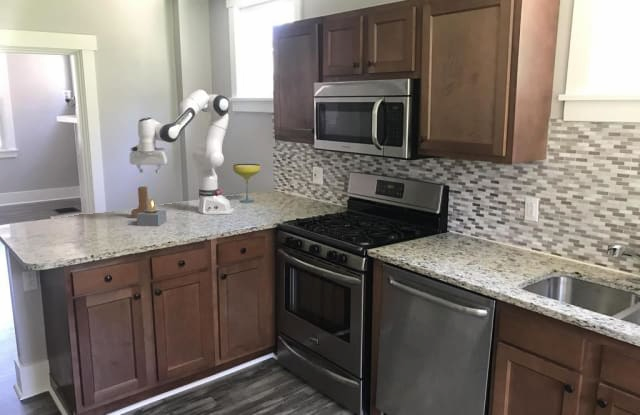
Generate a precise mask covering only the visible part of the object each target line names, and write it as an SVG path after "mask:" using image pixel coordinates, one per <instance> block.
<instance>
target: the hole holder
mask: <svg viewBox="0 0 640 415" xmlns="http://www.w3.org/2000/svg"><path fill="white" fill-rule="evenodd" d="M166 222H167V210H166V209H165V210H164V209H155V213H148V210H144V211H142V212H140V213H138V214H137V218H136V225H137V226H138V227H139V226H141V227H160V226H161V225H163V224H165V223H166Z"/></svg>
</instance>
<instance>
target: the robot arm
mask: <svg viewBox="0 0 640 415" xmlns="http://www.w3.org/2000/svg"><path fill="white" fill-rule="evenodd" d="M229 109H230V102H229V99H228V98H227V97H226V96H225V95H222V94H210V93H209V94H208V93H207V92H206V91H205V90H203V89H196V90H194V91H193V92H191V93H189V94H188V95H187V96H186V97H184V98H183V100H182V101H181V102H180V103H179V105H178V110H179V112H180V114H179V116H178V117H177V118H176V119H175V120H174V121H173V122H170V123H162V122H159V121H157V120H155V119H154V118H153V117H143V118H140V119H139V120H138V123H137V135H138V144H136V145H133V146H132V147H130V148H129V150H130V152H129V164H130V165H132V166H133V165H136V168H137V169H138V173H140V174H142V173H143V172H144V169H143V168H142V167H141V166H142V165H144V166H145V165H147V166H150V165H151V166H152V165H153V166H155V165H156V166H157V169H155V173H156V174H158V173H160V169H161V167H162V166H163V165H167V163H168V158H167V149H166V148H163V147H157V141H158V142H159V141H161V142H165V143H175V142H176V141H177V140H178V139H179V137H180V135H181V133H182V132H183V130H184V129H185V128H186V127H187V126H188V125H189V124H190V123H191V122H192V121H193V119H194V118H195V116H197V115H198V114H199V113H200V112H201V111H202V112H205V113H210V120H209V124H208V126H207V128H206V131H205V132H206V133H205V135H204V139H205V142H206V143H205V144H206V145H205V147H200V148H196V149H195V150H193V152H192V155H191V157H192V161H193V162H194V164H195V166H196V170H197V174H198V180H199V182H198V183H199V189H198V196H199V197H198V198H199V203H198V209H197V212H198V213H200V214H203V215H230V214H232V213H234V212H235V208H234V207H232V206H231V202H230V200H229V199H227V198H226V197H225V196H224V195H223V194H222V189H219V184H218V179H219V178H218V174H217V173H216V171H215V169H214V168H219V167H221V166H222V165H223V164H224V162H225V160H224V159H225V157H224V154H223V143H224V139H225V135H226V132H227V129H228V127H229V126H228V125H229V120H230V118H229V117H230V116H229V114H228V112H229Z"/></svg>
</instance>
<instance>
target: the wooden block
mask: <svg viewBox="0 0 640 415" xmlns="http://www.w3.org/2000/svg"><path fill="white" fill-rule="evenodd" d="M137 194H138V195H137V196H138V207H137V208H134V209H131V213H130V214H131V219H137V214H138V213H140V212H142V211H144V210H148V208H147V200H148V196H149V194H148V186H139V187H138V188H137Z"/></svg>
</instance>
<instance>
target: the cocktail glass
mask: <svg viewBox="0 0 640 415" xmlns="http://www.w3.org/2000/svg"><path fill="white" fill-rule="evenodd" d="M232 169H233V172H234V173H235V174H237V175H239V176H241V177H242V178H244V180H245V181H246V183H245V184H248V181H249V179H251V178H252V177H253V176H255V175H256V174H258V173H259V172H260V171H261V166H260V164H256V163H237V164H234V165H233V166H232ZM248 192H249V190H248V187H246V196H245V197H246V198H245V199H241V200H239V201H238V202H239V203H242V204H251V203H255V202H256V200H254V199H249V194H248Z"/></svg>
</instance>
